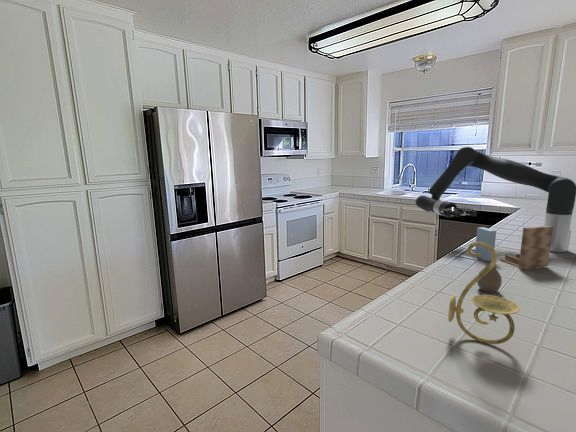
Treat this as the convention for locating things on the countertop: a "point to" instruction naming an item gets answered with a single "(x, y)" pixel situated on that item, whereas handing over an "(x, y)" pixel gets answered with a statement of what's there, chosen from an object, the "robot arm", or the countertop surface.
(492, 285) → the vase
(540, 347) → the countertop surface
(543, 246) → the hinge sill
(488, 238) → the light blue rectangular block
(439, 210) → the robot arm
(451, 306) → the wall sconce
